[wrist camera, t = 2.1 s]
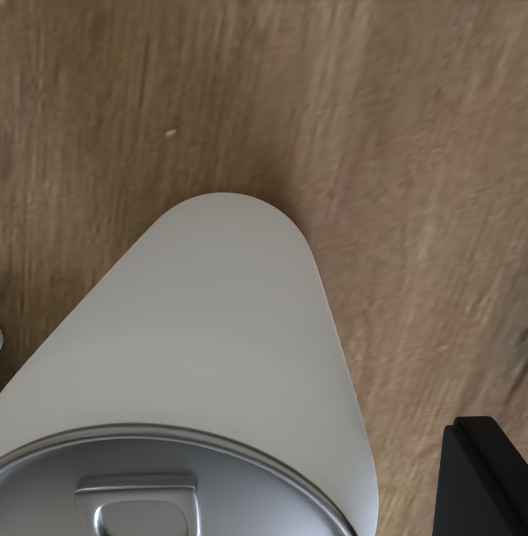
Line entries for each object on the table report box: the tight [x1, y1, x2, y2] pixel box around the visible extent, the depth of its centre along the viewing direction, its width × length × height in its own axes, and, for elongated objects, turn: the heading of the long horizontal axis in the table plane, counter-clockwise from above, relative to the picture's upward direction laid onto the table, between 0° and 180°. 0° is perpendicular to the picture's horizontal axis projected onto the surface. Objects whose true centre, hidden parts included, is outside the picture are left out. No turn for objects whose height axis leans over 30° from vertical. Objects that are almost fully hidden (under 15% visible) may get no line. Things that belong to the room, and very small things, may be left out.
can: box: [0, 192, 379, 536], centre depth 12 cm, size 6×6×12 cm
